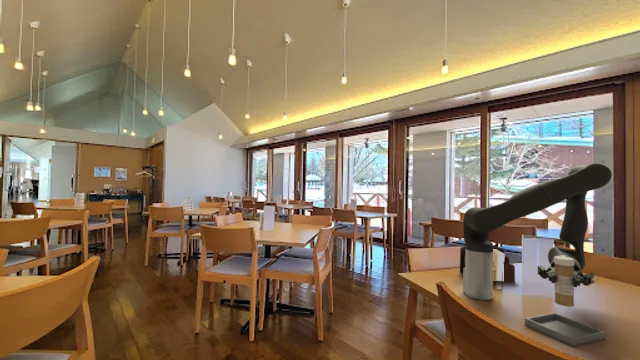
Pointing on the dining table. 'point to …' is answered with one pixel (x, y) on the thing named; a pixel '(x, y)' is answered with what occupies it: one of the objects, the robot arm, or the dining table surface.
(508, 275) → the letter holder
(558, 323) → the condiment tray
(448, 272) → the dining table surface
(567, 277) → the sprinkles bottle
